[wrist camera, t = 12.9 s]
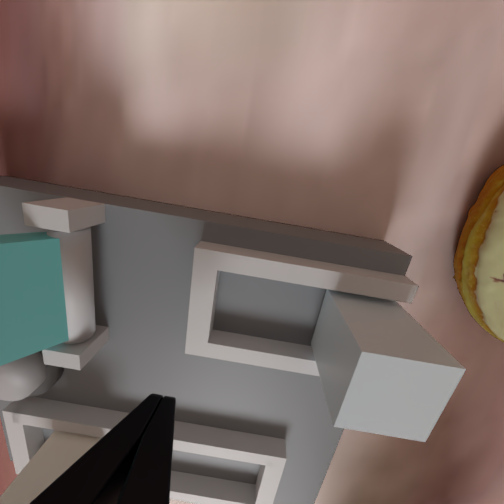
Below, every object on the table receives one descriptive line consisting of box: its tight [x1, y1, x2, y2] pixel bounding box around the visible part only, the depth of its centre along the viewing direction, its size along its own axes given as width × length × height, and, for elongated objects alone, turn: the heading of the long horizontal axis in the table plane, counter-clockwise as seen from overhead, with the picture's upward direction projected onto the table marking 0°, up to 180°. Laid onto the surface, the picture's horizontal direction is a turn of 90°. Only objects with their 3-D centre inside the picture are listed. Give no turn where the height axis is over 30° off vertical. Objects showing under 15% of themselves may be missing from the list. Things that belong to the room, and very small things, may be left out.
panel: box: [0, 176, 419, 504], centre depth 13 cm, size 20×18×4 cm
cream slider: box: [0, 430, 101, 504], centre depth 13 cm, size 3×3×4 cm
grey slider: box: [311, 289, 466, 442], centre depth 9 cm, size 3×3×4 cm
